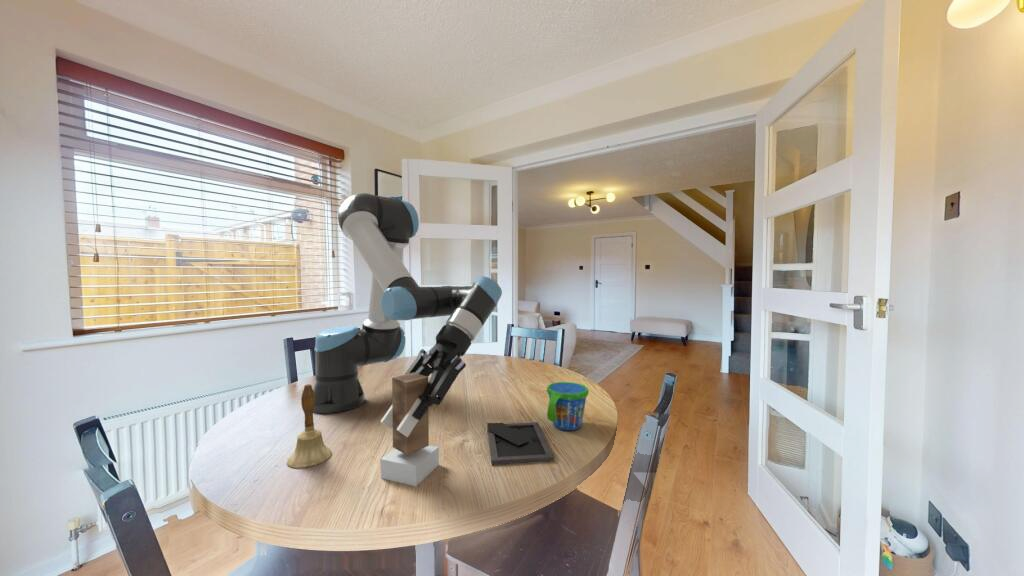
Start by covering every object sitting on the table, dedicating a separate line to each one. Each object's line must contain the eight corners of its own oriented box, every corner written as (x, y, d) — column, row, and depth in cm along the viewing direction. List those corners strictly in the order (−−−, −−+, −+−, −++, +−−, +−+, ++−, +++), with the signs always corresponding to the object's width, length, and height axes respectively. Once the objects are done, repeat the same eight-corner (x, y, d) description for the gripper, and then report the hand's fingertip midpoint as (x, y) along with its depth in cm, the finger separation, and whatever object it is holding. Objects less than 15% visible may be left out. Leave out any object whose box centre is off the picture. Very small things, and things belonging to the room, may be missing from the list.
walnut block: (392, 447, 69) (392, 377, 69) (414, 438, 73) (413, 372, 73) (407, 455, 66) (406, 382, 66) (428, 445, 70) (428, 376, 69)
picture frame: (487, 430, 90) (491, 468, 72) (487, 422, 90) (491, 458, 72) (537, 428, 91) (554, 464, 73) (537, 420, 91) (554, 455, 73)
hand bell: (323, 466, 71) (322, 389, 71) (279, 470, 70) (277, 392, 69) (336, 447, 79) (336, 378, 79) (297, 450, 78) (296, 380, 78)
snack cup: (568, 412, 100) (569, 377, 100) (600, 423, 93) (601, 385, 93) (532, 428, 90) (532, 389, 89) (565, 442, 82) (565, 399, 82)
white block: (380, 479, 67) (380, 459, 67) (406, 459, 75) (406, 441, 75) (415, 487, 64) (415, 466, 64) (438, 466, 72) (438, 447, 72)
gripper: (495, 348, 75) (434, 452, 63) (442, 339, 87) (381, 425, 74) (477, 326, 71) (408, 433, 59) (424, 319, 82) (357, 408, 70)
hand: (393, 428), depth 66 cm, fingers closed on walnut block, 5 cm apart
